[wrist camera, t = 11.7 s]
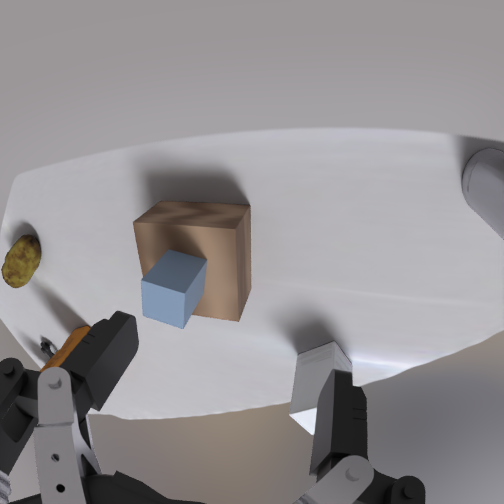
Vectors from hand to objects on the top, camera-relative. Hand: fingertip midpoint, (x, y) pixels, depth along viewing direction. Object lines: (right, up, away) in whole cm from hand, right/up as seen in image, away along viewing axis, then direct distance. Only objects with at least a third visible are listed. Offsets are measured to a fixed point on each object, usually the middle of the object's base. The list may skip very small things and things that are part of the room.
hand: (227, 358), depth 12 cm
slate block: (-7, +2, +27) cm, 28 cm away
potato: (-46, +4, +44) cm, 64 cm away
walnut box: (-5, +5, +34) cm, 35 cm away
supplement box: (+14, -14, +40) cm, 44 cm away
